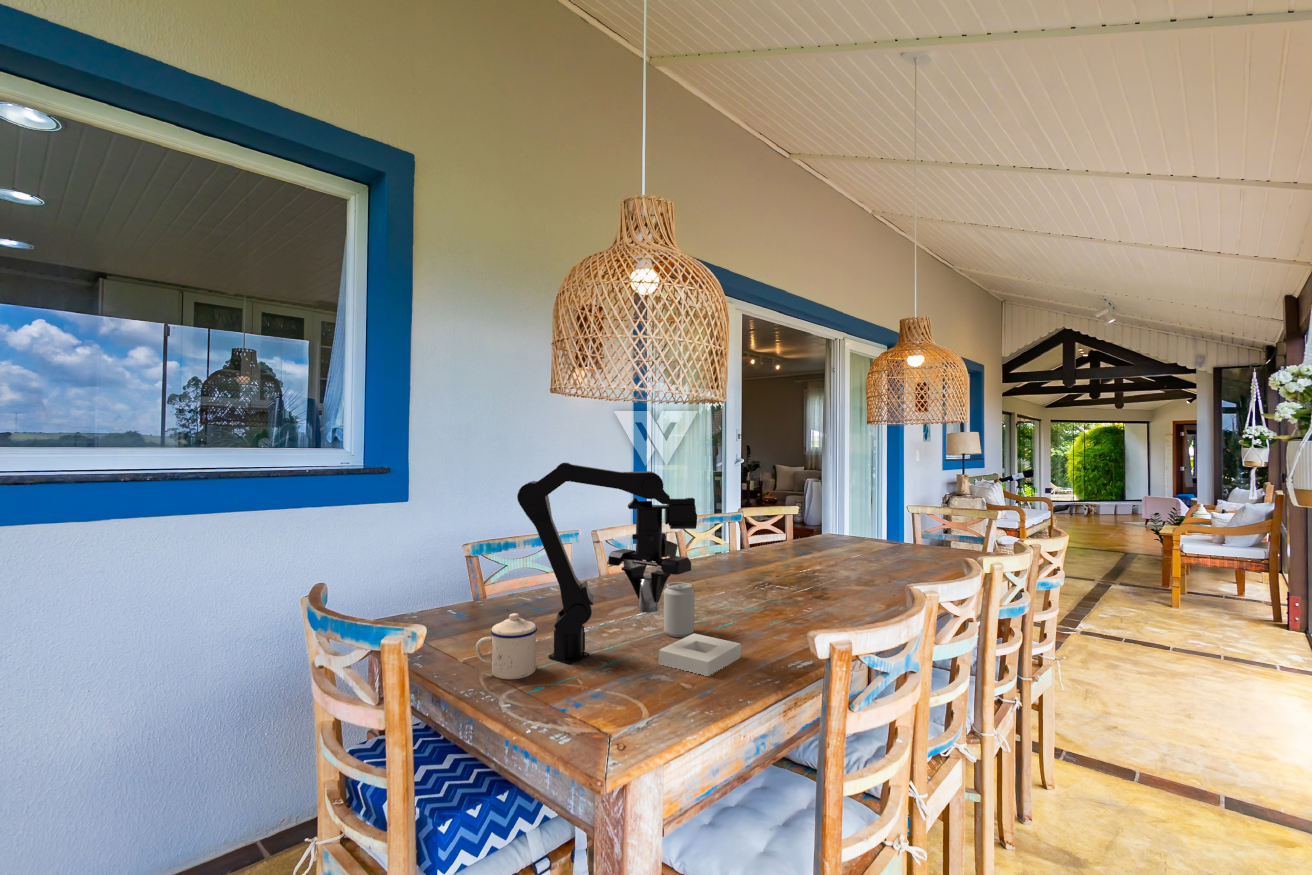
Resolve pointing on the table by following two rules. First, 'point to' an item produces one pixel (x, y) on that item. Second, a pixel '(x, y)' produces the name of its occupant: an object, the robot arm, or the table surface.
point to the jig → (700, 654)
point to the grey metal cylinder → (647, 596)
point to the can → (679, 609)
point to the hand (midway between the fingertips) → (648, 600)
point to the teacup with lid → (511, 648)
